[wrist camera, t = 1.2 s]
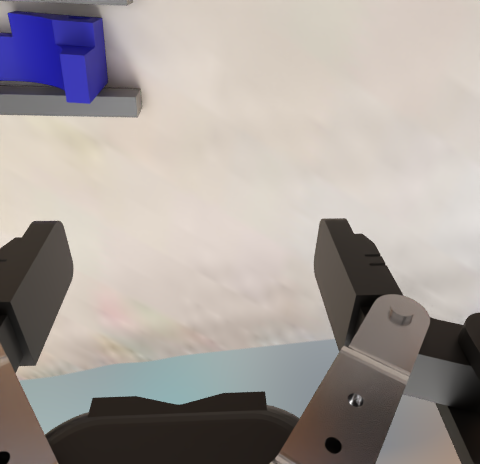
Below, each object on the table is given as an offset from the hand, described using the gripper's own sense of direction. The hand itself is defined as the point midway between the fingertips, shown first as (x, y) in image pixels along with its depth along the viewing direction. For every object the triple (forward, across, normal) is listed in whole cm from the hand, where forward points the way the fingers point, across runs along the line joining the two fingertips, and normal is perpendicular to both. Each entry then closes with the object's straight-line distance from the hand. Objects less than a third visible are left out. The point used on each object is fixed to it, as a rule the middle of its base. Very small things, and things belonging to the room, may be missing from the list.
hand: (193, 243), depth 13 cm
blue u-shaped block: (+24, +13, -2) cm, 27 cm away
